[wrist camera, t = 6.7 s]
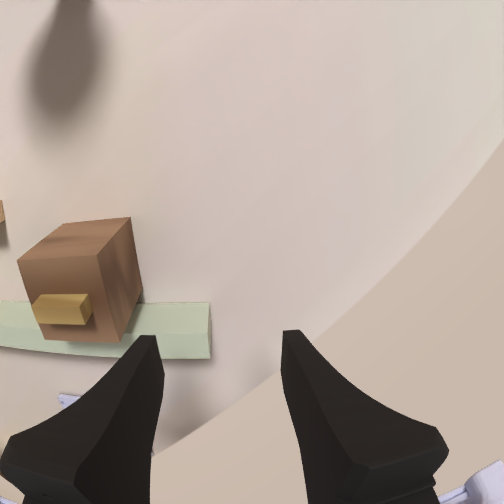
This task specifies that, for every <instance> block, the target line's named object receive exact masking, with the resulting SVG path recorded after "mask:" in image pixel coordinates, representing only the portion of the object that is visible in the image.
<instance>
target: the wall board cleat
mask: <svg viewBox="0 0 504 504" xmlns="http://www.w3.org/2000/svg"><path fill="white" fill-rule="evenodd" d="M4 220H5V217H4V212H3V207H2V201H1V200H0V223H1V222H2V221H4ZM211 327H212V325H211V314H210V303H209V302H197V303H140V304H136V305H135V308H134V310H133V312H132V315H131V317H130V319H129V322H128V324H127V327H126V329H125V332H124V334H123V337H122V339H121V342H120V343H103V342H75V341H56V340H45V339H44V337H43V334H42V332H41V329H40V327H39V324H38V323H37V321H36V319H35V316H34V314H33V311H32V308H31V303H30V302H21V301H0V346H6V347H12V348H19V349H27V350H35V351H43V352H52V353H62V354H73V355H86V356H101V357H119V358H121V357H122V356H123V354H124V353H125V352H126V351H127V350H128V349H129V347H130V346H131V345H132V344H133V343H134V341H135V340H136V339H137V338H138V337H139V336H140V335H156V339H157V344H158V348H159V352H160V357H161V359H206V358H210V350H211Z"/></svg>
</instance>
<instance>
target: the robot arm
mask: <svg viewBox="0 0 504 504" xmlns="http://www.w3.org/2000/svg"><path fill="white" fill-rule="evenodd" d="M281 376H282V382H283V389H284V394H285V398H286V401H287V405H288V408H289V412H290V415H291V419H292V422H293V425H294V428H295V432H296V435H297V439H298V443H299V447H300V453H301V459H302V464H303V470H304V477H305V484H306V490H307V498H308V504H504V464H503V463H502V461H501V460H497V461H495V462H494V463H492V464H490V465H489V466H487V467H485V468H483V469H481V470H480V471H478V472H476V473H475V474H474V475H473V476H471V477H470V478H469V479H468V480H467V481H466V483H465V484H464V485H462V486H460V487H458V488H456V489H454V490H452V491H450V492H447V493H445V494H443V495H441V496H439V497H437V495H436V493H435V491H434V489H433V486H435V484H436V482H435V479H434V477H433V474H434V473H435V472H436V471H437V469H438V468H439V467H440V466H441V465H442V463H443V462H444V461H445V459H446V458H447V456H448V453H449V449H448V447H447V445H446V443H445V441H444V439H443V437H442V436H441V434H440V433H439V431H438V430H437V428H436V427H434V426H430V425H428V424H425V423H422V422H419V421H416V420H413V419H411V418H409V417H407V416H404V415H402V414H400V413H398V412H396V411H394V410H392V409H390V408H388V407H386V406H384V405H383V404H381V403H379V402H378V401H376V400H374V399H372V398H371V397H370V396H368V395H366V394H365V393H363V392H362V391H361V390H359V389H358V388H357V387H355V386H354V385H353V384H352V383H350V382H349V381H348V380H347V379H346V378H345V377H343V376H342V375H341V374H340V373H339V372H338V371H337V370H336V369H335V368H334V367H333V366H332V365H331V364H330V363H329V362H328V361H327V360H326V359H325V358H324V357H323V356H322V355H321V354H320V353H319V352H318V351H317V350H316V348H315V347H314V346H313V345H312V344H311V343H310V341H309V340H308V339H307V338H306V337H305V335H304V334H303V333H302V332H301V331H300V330H287V331H283V340H282V356H281ZM164 377H165V373H164V369H163V365H162V361H161V357H160V352H159V348H158V344H157V339H156V335H140V336H139V337H138V338H137V339H136V340H135V341H134V343H133V344H132V345H131V346H130V347H129V349H128V350H127V351H126V352H125V353H124V354H123V356H122V357H121V358H120V359H119V360H118V361H117V362H116V363H115V365H114V366H113V367H112V368H111V369H110V370H109V371H108V372H107V373H106V374H105V375H104V376H103V377H102V378H101V379H100V380H99V381H98V382H97V383H96V384H95V385H94V386H93V387H92V388H91V389H90V390H89V391H88V392H86V393H85V394H84V395H83V396H81V397H79V396H72V395H65V394H59V395H58V400H59V402H60V403H61V405H62V407H63V409H64V410H62V411H61V412H59V413H58V414H56V415H54V416H53V417H51V418H49V419H47V420H46V421H44V422H42V423H40V424H38V425H36V426H34V427H32V428H30V429H27V430H25V431H22V432H20V433H18V434H15V435H13V436H11V437H10V438H9V441H8V443H7V445H6V447H5V449H4V452H3V454H2V456H1V459H0V471H1V472H2V474H3V475H4V476H5V477H6V478H7V479H8V480H9V481H10V482H11V483H12V484H13V485H14V486H15V487H17V488H18V489H19V490H20V491H21V492H22V493H23V494H24V495H25V497H24V500H23V504H150V469H151V456H153V452H152V446H153V440H154V436H155V431H156V426H157V421H158V417H159V412H160V407H161V403H162V398H163V389H164ZM0 504H18V503H15V502H13V501H11V500H8V499H6V498H4V497H2V496H0Z"/></svg>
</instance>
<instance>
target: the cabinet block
mask: <svg viewBox="0 0 504 504" xmlns="http://www.w3.org/2000/svg"><path fill="white" fill-rule="evenodd" d="M17 263H18V266H19V270H20V273H21V276H22V280H23V283H24V286H25V289H26V292H27V295H28V298H29V300H30V303H31V308H32V311H33V314H34V316H35V319H36V321H37V323H38V324H39V327H40V329H41V332H42V334H43V337H44V339H45V340H56V341H75V342H103V343H120V342H121V339H122V337H123V334H124V332H125V329H126V327H127V324H128V322H129V319H130V317H131V315H132V312H133V310H134V308H135V305H136V303H137V301H138V298H139V296H140V294H141V291H142V289H143V287H142V282H141V276H140V271H139V266H138V260H137V255H136V249H135V243H134V237H133V231H132V224H131V217H126V218H115V219H104V220H94V221H84V222H75V223H66V224H62V225H61V226H60V227H58V228H57V229H56V230H54V231H53V232H52V233H50V234H49V235H48V236H46V237H45V238H44V239H43V240H41V241H40V242H39V243H37V244H36V245H35V246H34V247H32V248H31V249H30V250H29V251H27V252H26V253H25V254H24V255H23V256H21V257H20V258H19V259H18V260H17Z"/></svg>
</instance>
